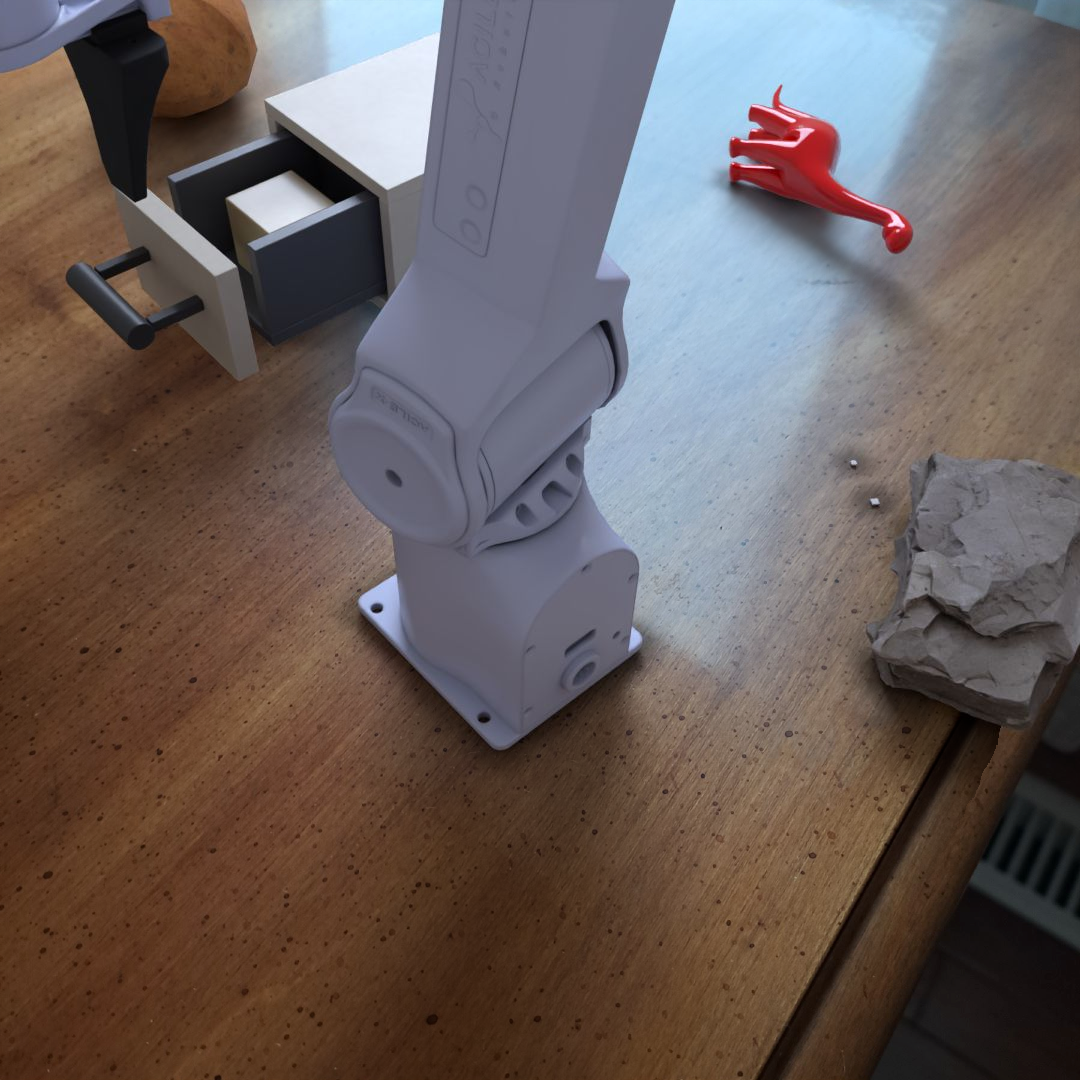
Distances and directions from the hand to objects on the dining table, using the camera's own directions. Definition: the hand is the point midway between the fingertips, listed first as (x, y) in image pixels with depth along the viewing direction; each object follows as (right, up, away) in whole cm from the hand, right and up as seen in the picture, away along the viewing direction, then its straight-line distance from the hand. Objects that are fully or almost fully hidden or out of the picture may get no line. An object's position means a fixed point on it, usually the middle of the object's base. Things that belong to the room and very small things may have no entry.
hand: (51, 224), depth 52 cm
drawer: (+6, -1, +10) cm, 12 cm away
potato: (-1, +14, +25) cm, 29 cm away
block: (+8, +1, +11) cm, 13 cm away
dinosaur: (+33, +10, +20) cm, 40 cm away
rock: (+36, -12, 0) cm, 38 cm away
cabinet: (+15, +4, +16) cm, 22 cm away
